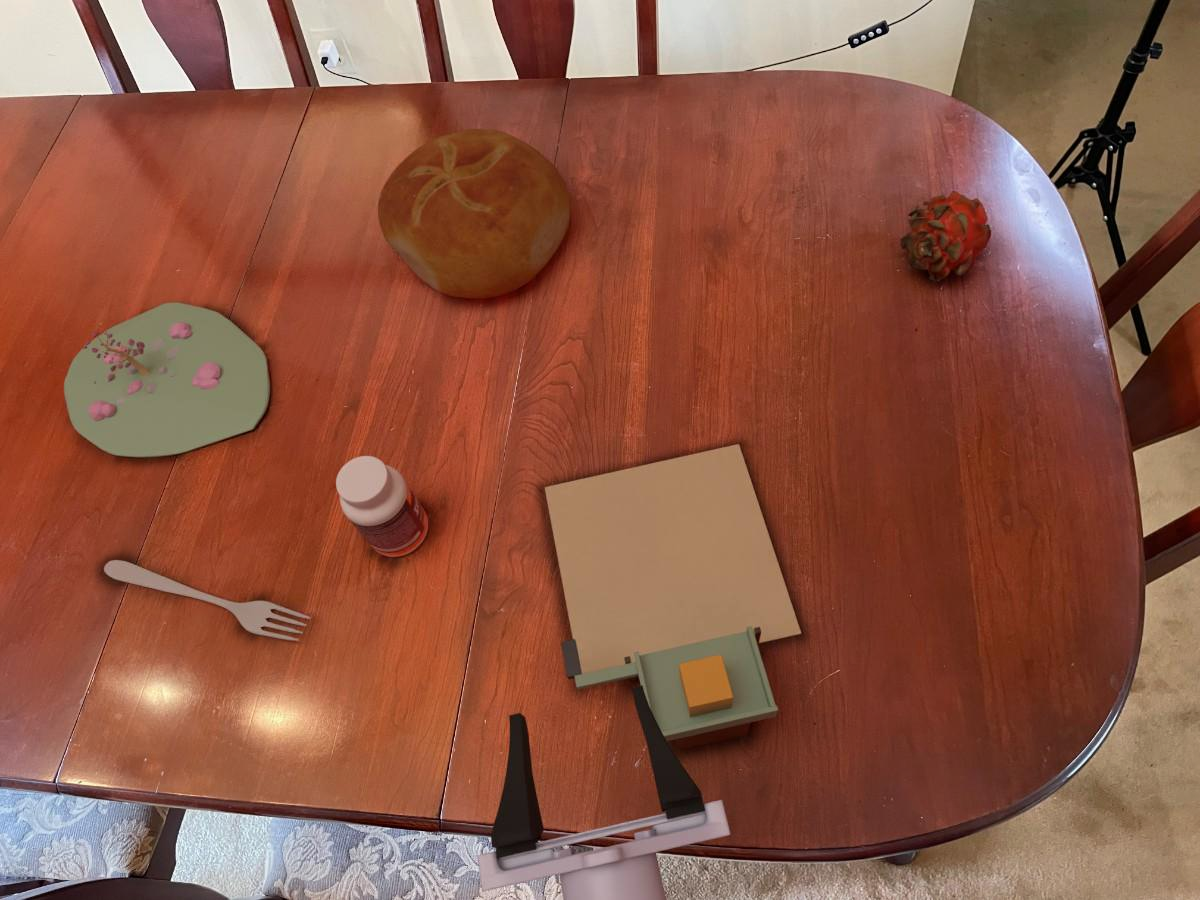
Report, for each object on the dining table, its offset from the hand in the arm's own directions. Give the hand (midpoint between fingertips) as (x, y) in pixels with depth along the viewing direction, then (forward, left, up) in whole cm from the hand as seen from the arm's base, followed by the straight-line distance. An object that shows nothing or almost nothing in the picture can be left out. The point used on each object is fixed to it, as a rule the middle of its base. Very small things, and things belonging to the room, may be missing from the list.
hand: (577, 702), depth 53 cm
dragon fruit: (+45, -47, -22) cm, 69 cm away
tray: (+4, -6, -16) cm, 17 cm away
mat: (+17, -9, -22) cm, 29 cm away
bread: (+63, +3, -22) cm, 67 cm away
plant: (+51, +40, -22) cm, 68 cm away
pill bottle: (+26, +16, -22) cm, 37 cm away
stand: (+3, -9, -22) cm, 24 cm away
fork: (+23, +36, -22) cm, 48 cm away
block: (+2, -9, -15) cm, 18 cm away
